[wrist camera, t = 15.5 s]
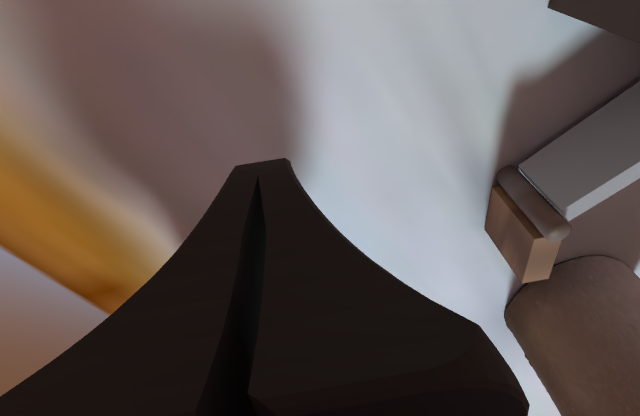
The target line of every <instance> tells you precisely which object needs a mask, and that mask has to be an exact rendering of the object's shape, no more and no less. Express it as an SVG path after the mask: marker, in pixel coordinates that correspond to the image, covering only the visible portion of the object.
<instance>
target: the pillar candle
mask: <svg viewBox="0 0 640 416" xmlns="http://www.w3.org/2000/svg"><path fill="white" fill-rule="evenodd" d="M505 322H507V323H506V324H507V327H508V328H509V329H510V331H511V332H512V333H513V335H514V337H515V338H516V340H517V342H518V343H519V345H520V346H521V348H522V350H523V351H524V353H525V357H526V358H527V360H529V363H530V365H531V366H532V367H533V369H534V370H535V372H536V374H537V375H538V377H539V379H540V380H541V382H542V384H543V385H544V387H545V388H546V390H547V392H548V393H549V395H550V397H551V398H552V400H553V402H554V403H555V405H556V407H557V409H558V410H559V412H560V414H561V416H640V278H639V277H638V276H637V275H636V274H635V273H634V272H633V271H632V270H631V269H630V268H629V267H628V266H626V265H625V264H624V263H622V262H621V261H619V260H616V259H613V258H609V257H606V256H597V255H596V256H585V257H580V258H576V259H573V260H570V261H566V262H563V263H560V264H558V265H556V266H554V267H552V270H551V273H550V276H549V279H544V280H538V281H533V282H529V283H528V284H527V285H525V286H524V287H523V288H522V289H521V291H520V292H519V293H518V294H517V295H516V296H515V298H514V299H513V300H512V301H511V303H510V304H509V305H508V307H507V309H506V314H505Z"/></svg>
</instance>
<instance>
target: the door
mask: <svg viewBox="0 0 640 416" xmlns="http://www.w3.org/2000/svg"><path fill="white" fill-rule="evenodd" d="M518 167H519V168H520V169H521V171H522V172H523V174H524V175H525V176H526V177H527V179H528V180H529V181H530V182H531V183H532V184H533V185H534V186H535V187H536V188H537V189H538V190H539V191H540V192H541V193H542V194H543V195H544V196H545V197H546V198H547V199H548V200H549V201H550V202H551V204H552V205H553V206H554V207H555V208H556V209H557V210H558V211H559V212H560V213H561V214H562V215H563V216H564V217H565V218H566V219H567V220H568V221H571V220H572V219H574V218H575V217H577V216H579V215H580V214H582V213H584V212H585V211H587V210H589V209H590V208H592V207H593V206H595V205H597V204H598V203H600V202H602V201H603V200H605V199H607V198H608V197H610V196H611V195H613V194H615V193H616V192H618V191H620V190H621V189H623V188H625V187H626V186H628V185H629V184H631V183H633V182H634V181H636V180H638V179H639V178H640V81H639V82H638V83H636V84H635V85H633V86H632V87H630V88H629V89H628V90H626V91H625V92H623V93H622V94H620V95H619V96H617V97H616V98H615V99H613V100H612V101H610V102H609V103H607V104H606V105H605V106H603V107H602V108H600V109H599V110H597V111H596V112H594V113H593V114H592V115H590V116H589V117H587V118H586V119H584V120H583V121H581V122H580V123H579V124H577V125H576V126H574V127H573V128H571V129H570V130H568V131H567V132H566V133H564V134H563V135H561V136H560V137H558V138H557V139H556V140H554V141H553V142H551V143H550V144H548V145H547V146H545V147H544V148H543V149H541V150H540V151H538V152H537V153H535V154H534V155H532V156H531V157H530V158H528V159H527V160H525V161H524V162H522V163H521V164H520V165H518Z"/></svg>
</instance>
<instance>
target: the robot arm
mask: <svg viewBox="0 0 640 416" xmlns="http://www.w3.org/2000/svg"><path fill="white" fill-rule="evenodd" d="M528 410H529V403H528V400H527V398H526V396H525V394H524V392H523V390H522V388H521V386H520V384H519V382H518V380H517V378H516V376H515V375H514V373H513V372H512V370H511V368H510V367H509V365H508V364H507V363H506V361H505V360H504V358H503V357H502V355H501V354H500V353H499V351H498V350H497V348H496V347H495V346H494V344H493V343H492V342H491V340H490V339H489V338H488V336H487V335H486V334H485V332H484V331H483V330H482V329H481V327H480V326H479V325H478V324H476V323H474V322H472V321H470V320H468V319H466V318H464V317H463V316H461V315H459V314H457V313H455V312H453V311H451V310H449V309H447V308H445V307H443V306H442V305H440V304H438V303H436V302H434V301H432V300H430V299H429V298H427V297H425V296H424V295H422V294H420V293H419V292H417V291H416V290H414V289H412V288H411V287H409V286H408V285H406V284H404V283H403V282H402V281H400V280H399V279H397V278H396V277H395V276H393V275H392V274H390V273H389V272H388V271H386V270H385V269H384V268H382V267H381V266H379V265H378V264H377V263H375V262H374V261H372V260H371V259H370V258H369V257H367V256H366V255H365V254H364V253H363V252H361V251H360V250H359V249H358V248H357V247H355V246H354V245H353V244H352V243H351V242H350V241H349V240H348V239H347V238H346V237H345V236H343V235H342V234H341V233H340V232H339V231H338V230H337V229H336V228H335V226H334V225H333V224H332V223H331V222H330V221H329V220H328V219H327V218H326V217H325V216H324V214H323V213H322V212H321V211H320V210H319V209H318V207H317V206H316V205H315V204H314V202H313V201H312V200H311V198H310V197H309V195H308V194H307V193H306V191H305V190H304V188H303V187H302V185H301V184H300V182H299V181H298V179H297V177H296V175H295V173H294V171H293V169H292V167H291V163H290V161H289V160H287V159H286V158H282V159H276V160H269V161H263V162H257V163H251V164H244V165H238V166H235V168H234V169H233V170H232V172H231V173H230V175H229V177H228V178H227V180H226V182H225V183H224V185H223V187H222V188H221V190H220V191H219V193H218V195H217V196H216V198H215V199H214V201H213V202H212V204H211V205H210V207H209V208H208V210H207V211H206V213H205V214H204V216H203V217H202V219H201V220H200V222H199V223H198V224H197V226H196V227H195V228H194V229H193V231H192V232H191V233H190V235H189V236H188V237H187V239H186V240H185V241H184V242H183V244H182V245H181V246H180V248H179V249H178V250H177V251H176V252H175V253H174V254H173V256H172V257H171V258H170V259H169V260H168V261H167V262H166V263H165V264H164V265H163V266H162V267H161V268H160V270H159V271H158V272H157V273H156V274H155V275H154V276H153V277H152V278H151V279H150V280H149V281H148V282H147V283H146V284H145V285H143V286H142V287H141V288H140V289H139V290H138V291H137V292H136V293H135V294H134V295H132V296H131V297H130V298H129V299H128V300H127V301H126V302H125V303H124V304H123V305H122V306H120V307H119V308H118V309H117V310H116V311H115V312H114V313H113V314H111V315H110V316H109V317H108V318H107V319H105V321H103V322H102V323H101V324H99V325H98V326H97V327H96V328H95V329H93V330H92V331H91V332H90V333H88V334H87V335H86V336H84V337H83V338H82V339H81V340H79V341H78V342H77V343H75V344H74V345H73V346H72V347H70V348H69V349H68V350H66V351H65V352H64V353H62V354H61V355H59V356H58V357H57V358H56V359H54V360H53V361H51V362H50V363H49V364H47V365H46V366H44V367H43V368H41V369H40V370H38V371H37V372H36V373H34V374H33V375H31V376H30V377H29V378H27V379H25V380H24V381H22V382H21V383H20V384H18V385H17V386H15V387H14V388H12V389H11V390H9V391H8V392H7V393H5V394H3V395H2V396H1V397H0V416H528Z"/></svg>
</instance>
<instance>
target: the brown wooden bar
mask: <svg viewBox="0 0 640 416" xmlns="http://www.w3.org/2000/svg"><path fill="white" fill-rule="evenodd" d="M496 179H497V181H498V183H499V184H500V185H501V186H495V187H492V190H491V196H490V202H489V207H488V213H487V219H486V224H485V231H486V232H487V234H488V235H489V237H490V238H491V239H492V241H493V242H494V244H495V245H496V247H497V248H498V250H499V251H500V253H501V254H502V256H503V257H504V259H505V260H506V261H507V263H508V264H509V266H510V267H511V269H512V270H513V272H514V273H515V275H516V276H517V278H518V279H519V280H520V282H521V283H527V282H533V281H538V280H544V279H549V276H550V273H551V270H552V267H553V265H554V262H555V259H556V256H557V253H558V250H559V247H560V244H561V242H562V240H563V239H564V238H566V237H567V236H568V235H569V234H570V232H571V230H572V227H571V225H570V224H569V223H568V222H567V221H566V220H565V219H564V218H563V217H562V216H561V215H560V214H559V212H558V211H557V210H556V209H555V208H554V207H553V206H552V205H551V204H550V203H549V202H548V201H547V200H546V199H545V198H544V197H543V196H542V195H541V194H540V193H539V192H538V190H537V189H536V188H535V187H534V186H533V185H532V184H531V183H530V182H529V181H528V180H527V179H526V178H525V177H524V176H523V175H522V174H521V173H520V172H519V171H518V169H517V168H516V167H514V166H507V167H504V168H502V169H501V170H500V171H499V172H498V174H497V176H496Z"/></svg>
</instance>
